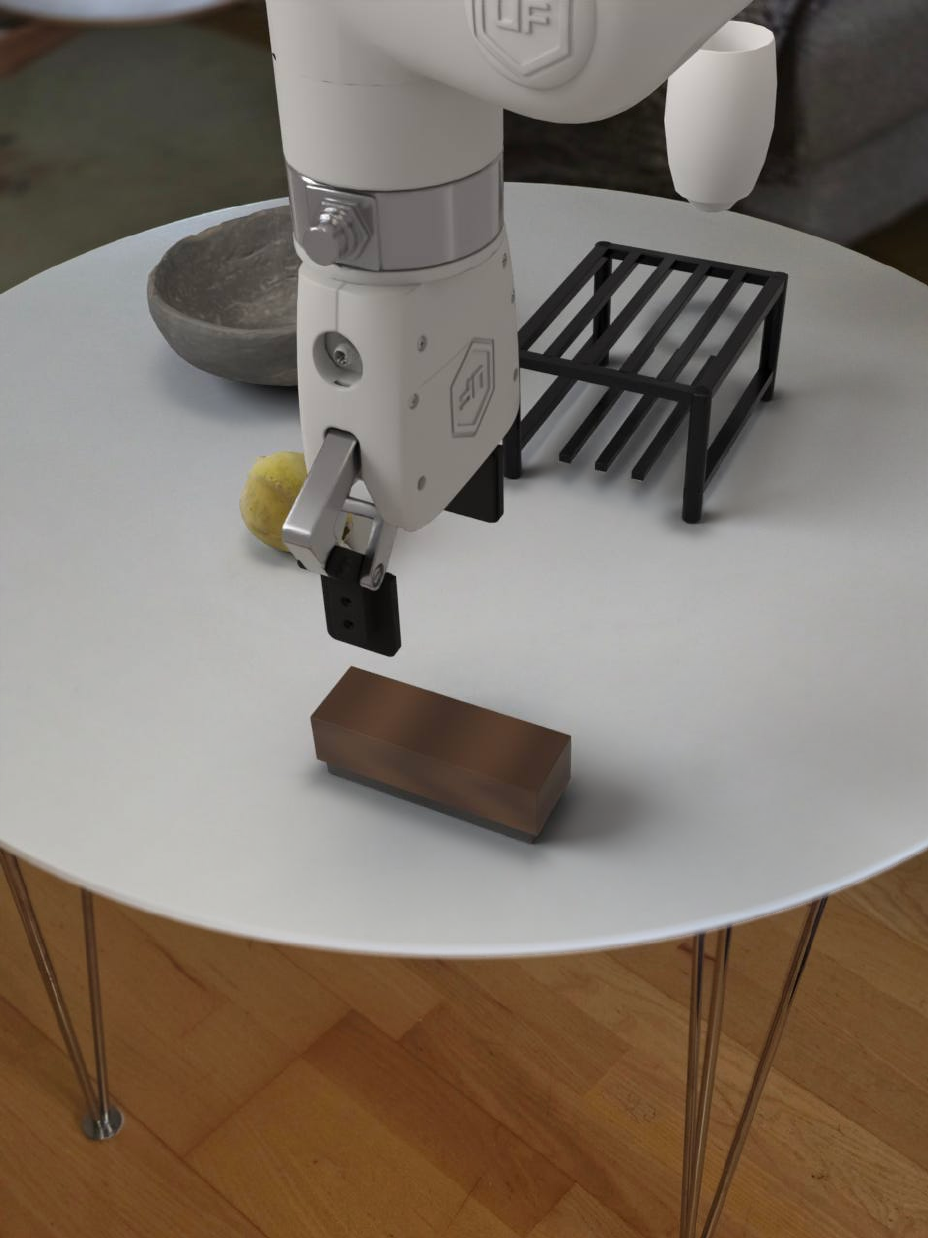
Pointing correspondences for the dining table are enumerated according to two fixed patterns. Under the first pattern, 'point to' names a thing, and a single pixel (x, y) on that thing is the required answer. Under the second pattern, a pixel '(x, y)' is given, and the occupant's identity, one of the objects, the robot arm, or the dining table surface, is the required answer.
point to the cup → (722, 116)
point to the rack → (604, 337)
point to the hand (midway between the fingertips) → (420, 574)
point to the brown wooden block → (442, 753)
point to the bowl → (232, 298)
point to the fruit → (275, 496)
